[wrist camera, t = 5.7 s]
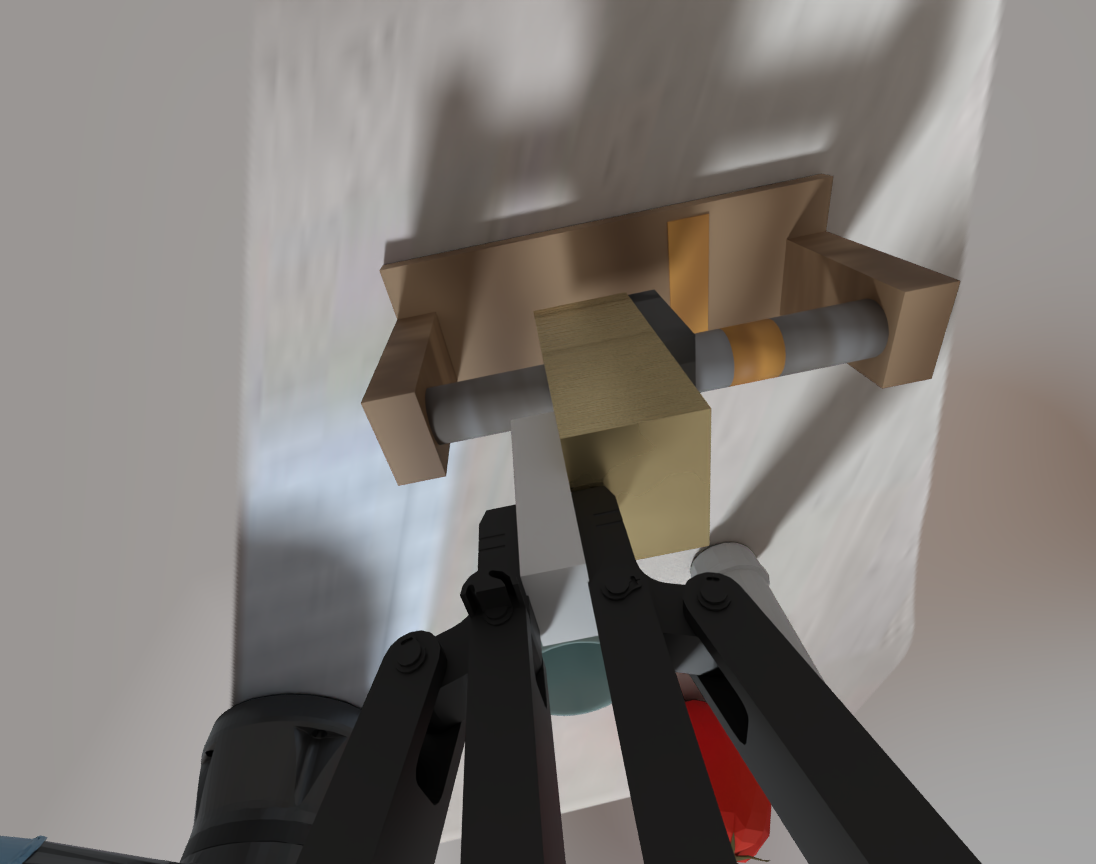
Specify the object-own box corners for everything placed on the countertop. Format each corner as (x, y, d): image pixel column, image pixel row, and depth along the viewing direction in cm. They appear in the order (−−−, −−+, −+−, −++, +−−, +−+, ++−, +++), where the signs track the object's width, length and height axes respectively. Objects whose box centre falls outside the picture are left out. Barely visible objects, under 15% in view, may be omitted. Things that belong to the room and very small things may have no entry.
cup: (555, 496, 34) (576, 622, 26) (628, 545, 37) (667, 671, 29) (482, 558, 37) (480, 691, 28) (556, 599, 40) (574, 728, 32)
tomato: (612, 738, 54) (643, 900, 43) (651, 673, 47) (700, 844, 36) (707, 739, 56) (760, 893, 45) (757, 678, 50) (832, 840, 39)
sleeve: (553, 413, 24) (586, 570, 16) (533, 311, 21) (560, 439, 13) (634, 396, 24) (709, 545, 16) (625, 291, 21) (711, 408, 13)
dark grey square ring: (635, 396, 24) (666, 457, 19) (626, 295, 21) (660, 341, 17) (659, 391, 24) (696, 451, 19) (654, 289, 21) (695, 334, 17)
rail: (437, 415, 29) (417, 528, 22) (383, 265, 24) (332, 340, 17) (800, 341, 29) (916, 429, 21) (821, 173, 24) (982, 206, 16)
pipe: (688, 545, 38) (1069, 1388, 13) (768, 532, 38) (1299, 1345, 13) (685, 591, 41) (989, 1344, 16) (759, 579, 41) (1176, 1309, 16)
